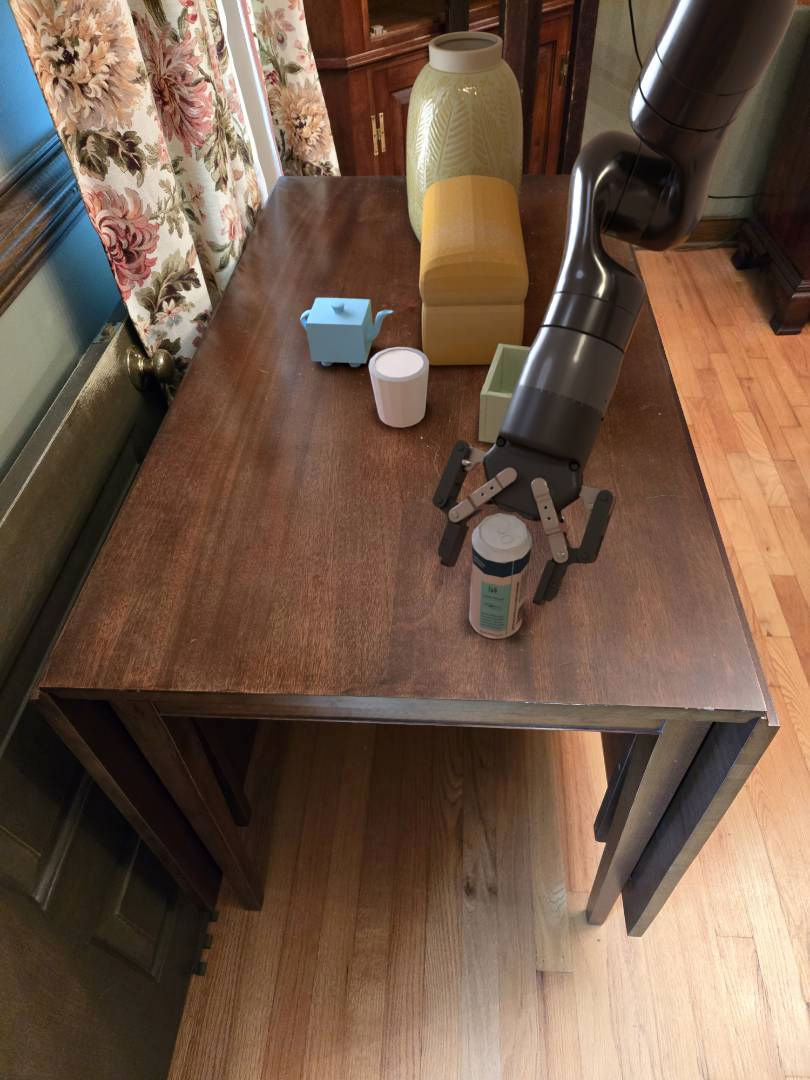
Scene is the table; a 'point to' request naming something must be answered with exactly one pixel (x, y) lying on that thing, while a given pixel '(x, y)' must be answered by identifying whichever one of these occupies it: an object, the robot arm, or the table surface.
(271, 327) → the table surface
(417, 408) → the white cup
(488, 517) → the beer can
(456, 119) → the vase
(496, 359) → the bin
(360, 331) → the teapot
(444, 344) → the bread
